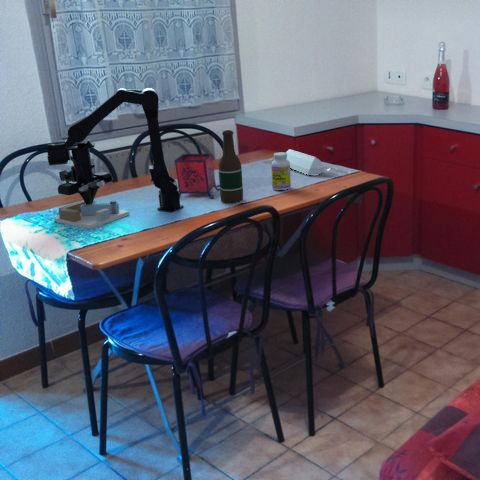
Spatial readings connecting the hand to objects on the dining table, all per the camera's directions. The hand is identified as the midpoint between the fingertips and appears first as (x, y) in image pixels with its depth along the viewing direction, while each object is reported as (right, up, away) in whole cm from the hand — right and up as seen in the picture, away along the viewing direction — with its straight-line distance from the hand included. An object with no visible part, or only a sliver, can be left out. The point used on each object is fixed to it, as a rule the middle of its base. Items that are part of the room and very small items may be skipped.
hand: (89, 208), depth 227 cm
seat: (+1, -3, -1) cm, 4 cm away
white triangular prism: (+74, +17, +45) cm, 88 cm away
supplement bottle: (+65, +8, +20) cm, 68 cm away
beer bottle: (+47, +3, +9) cm, 48 cm away
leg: (+4, -2, -2) cm, 5 cm away
